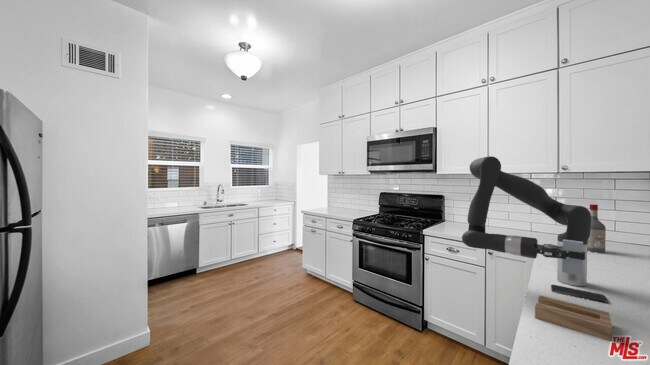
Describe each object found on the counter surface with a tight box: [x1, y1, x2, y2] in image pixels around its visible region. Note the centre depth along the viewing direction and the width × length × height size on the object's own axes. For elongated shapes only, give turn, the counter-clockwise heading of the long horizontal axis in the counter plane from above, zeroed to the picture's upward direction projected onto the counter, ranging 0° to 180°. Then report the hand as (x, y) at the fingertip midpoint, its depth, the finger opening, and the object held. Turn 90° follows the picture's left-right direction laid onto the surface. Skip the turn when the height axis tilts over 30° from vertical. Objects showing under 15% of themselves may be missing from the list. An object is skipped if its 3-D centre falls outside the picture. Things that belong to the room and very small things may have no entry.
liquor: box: [587, 203, 607, 254], centre depth 164 cm, size 9×9×30 cm
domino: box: [562, 239, 583, 276], centre depth 88 cm, size 2×5×11 cm, turn 44°
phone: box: [550, 284, 609, 304], centre depth 98 cm, size 8×1×15 cm
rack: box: [534, 294, 613, 342], centre depth 78 cm, size 12×16×4 cm
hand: (584, 255), depth 86 cm, fingers closed on domino, 2 cm apart
